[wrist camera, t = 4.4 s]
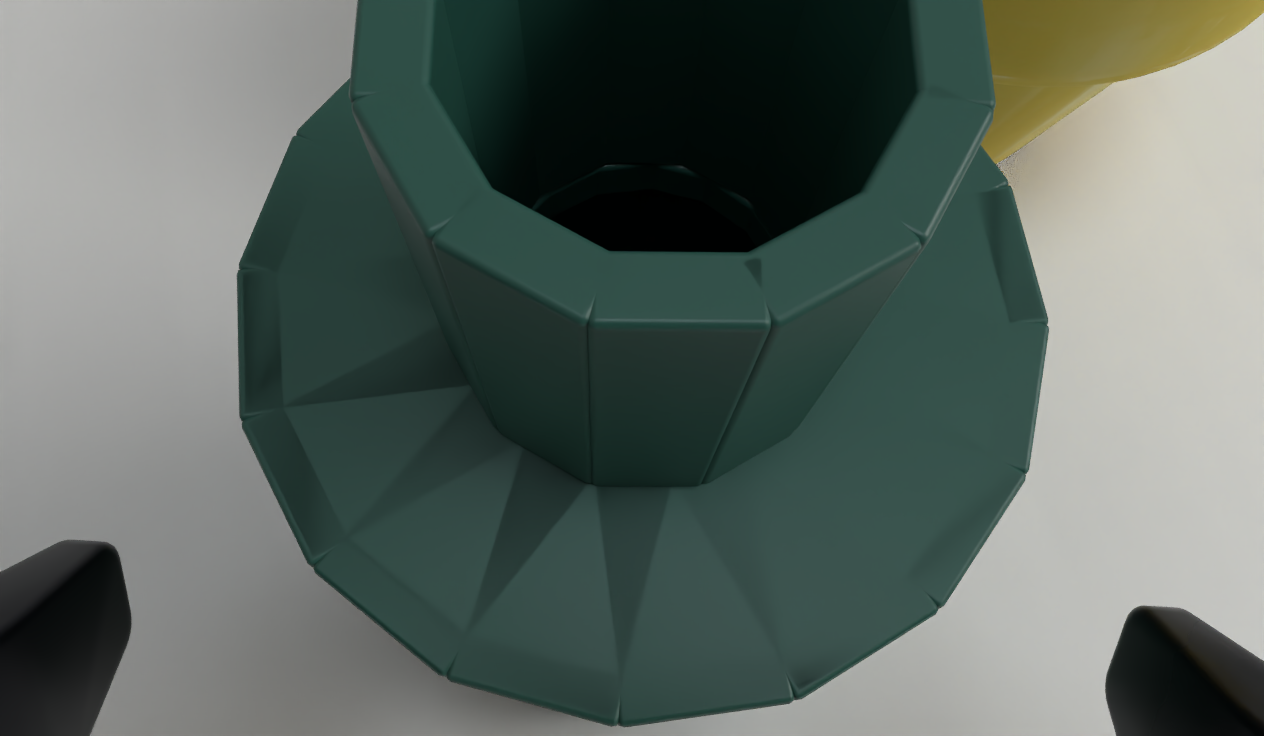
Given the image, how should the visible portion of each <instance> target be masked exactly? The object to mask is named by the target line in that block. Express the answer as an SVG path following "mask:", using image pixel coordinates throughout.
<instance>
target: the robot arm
mask: <svg viewBox="0 0 1264 736" xmlns="http://www.w3.org/2000/svg"><path fill="white" fill-rule="evenodd" d="M130 632H131V610H130V605H129V600H128V595H127V591H126V586H125V581H124V576H123V571H122V566H121V561H120V557H119V554H118V551H117V550H116V548H115V547H114V546H113V545H111V544H110V543H108V542H101V541H85V540H64V541H61V542H58V543H56V544H54V545H52V546H50V547H48V548H46V549H44V550H42V551H40V552H39V553H37V554H35V555H33V556H31V557H29V558H27V559H25V560H23V561H21V562H19V563H17V564H15V565H13V566H11V567H9V568H7V569H5V570H3V571H1V572H0V736H90V734H91V732H92V729H93V727H94V724H95V722H96V719H97V717H98V714H99V712H100V710H101V707H102V705H103V702H104V700H105V697H106V695H107V692H108V690H109V688H110V685H111V683H112V680H113V678H114V675H115V673H116V670H117V668H118V666H119V663H120V661H121V658H122V656H123V653H124V651H125V648H126V646H127V643H128V640H129V636H130ZM1105 692H1106V700H1107V704H1108V708H1109V711H1110V715H1111V718H1112V722H1113V725H1114V729H1115V732H1116V736H1264V661H1263V660H1261V659H1260V658H1258V657H1257V656H1255V655H1254V654H1252V653H1250V652H1249V651H1247V650H1246V649H1244V648H1243V647H1241V646H1240V645H1238V644H1237V643H1235V642H1234V641H1232V640H1231V639H1229V638H1228V637H1226V636H1225V635H1223V634H1222V633H1220V632H1219V631H1217V630H1216V629H1214V628H1213V627H1211V626H1210V625H1208V624H1207V623H1205V622H1204V621H1202V620H1200V619H1199V618H1197V617H1196V616H1194V615H1193V614H1191V613H1190V612H1188V611H1186V610H1184V609H1181V608H1174V607H1158V606H1139V607H1136V608H1134V609H1133V610H1132V611H1131V612H1130V613H1129V615H1128V617H1127V619H1126V621H1125V624H1124V627H1123V630H1122V632H1121V635H1120V638H1119V641H1118V644H1117V646H1116V649H1115V652H1114V655H1113V658H1112V660H1111V663H1110V666H1109V669H1108V672H1107V676H1106V683H1105Z"/></svg>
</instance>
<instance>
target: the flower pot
mask: <svg viewBox="0 0 1264 736" xmlns="http://www.w3.org/2000/svg"><path fill="white" fill-rule="evenodd" d="M982 1H983V9H984V16H985V24H986V32H987V39H988V47H989V54H990V62H991V69H992V77H993V85H994V92H995V100H996V106H995V109H994V114H993V122H992V124H991V126H990V128H989V130H988V131H987V133H986V135H985V137H984V139H983V141H982V143H981V146H982V147H983V149H984V150H985V151H986V152H987V154H988V155H989V156H990V158H991V159H992V160H993V162H994V163H995V164H997V163H998V162H1000V161H1002V160H1003V159H1005V158H1007V157H1008V156H1010V155H1011V154H1013V153H1014V152H1016V151H1017V150H1019V149H1020V148H1022V147H1023V146H1024V145H1026V144H1027V143H1029V142H1030V141H1031V140H1033V139H1034V138H1036V137H1037V136H1039V135H1040V134H1041V133H1043V132H1044V131H1046V130H1047V129H1048V128H1050V127H1051V126H1053V125H1054V124H1055V123H1057V122H1058V121H1060V120H1061V119H1062V118H1064V117H1065V116H1067V115H1068V114H1069V113H1071V112H1072V111H1074V110H1075V109H1076V108H1078V107H1079V106H1081V105H1082V104H1084V103H1085V102H1086V101H1088V100H1089V99H1091V98H1092V97H1094V96H1095V95H1096V94H1098V93H1099V92H1101V91H1102V90H1104V89H1105V88H1106V87H1108V86H1109V85H1111V84H1112V83H1113V82H1117V81H1122V80H1127V79H1131V78H1136V77H1140V76H1143V75H1146V74H1150V73H1153V72H1156V71H1159V70H1162V69H1166V68H1169V67H1172V66H1175V65H1177V64H1180V63H1182V62H1184V61H1186V60H1189V59H1191V58H1193V57H1196V56H1198V55H1200V54H1202V53H1204V52H1206V51H1208V50H1210V49H1212V48H1214V47H1216V46H1217V45H1219V44H1220V43H1222V42H1224V41H1225V40H1227V39H1229V38H1230V37H1232V36H1233V35H1235V34H1237V33H1238V32H1240V31H1242V30H1243V29H1244V28H1245V27H1247V26H1248V25H1249V24H1250V23H1251V22H1253V21H1254V20H1255V19H1256V18H1258V17H1259V16H1260V15H1261V14H1262V13H1264V0H982Z"/></svg>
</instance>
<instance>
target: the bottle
mask: <svg viewBox="0 0 1264 736" xmlns="http://www.w3.org/2000/svg"><path fill="white" fill-rule="evenodd" d="M995 106H996V100H995V92H994V85H993V77H992V69H991V62H990V54H989V47H988V39H987V32H986V24H985V16H984V9H983V1H982V0H358V2H357V13H356V23H355V34H354V44H353V55H352V66H351V76H350V78H349V79H348V80H347V81H346V82H345V83H344V84H343V85H342V86H341V87H340V88H339V89H338V90H337V91H336V92H335V93H334V94H333V95H332V96H331V97H330V98H329V99H328V100H327V101H326V102H325V103H324V104H323V105H322V106H321V107H320V108H319V109H318V110H317V111H316V112H315V113H314V114H313V115H312V116H311V117H310V118H309V119H308V120H307V121H306V122H305V123H304V124H303V125H302V126H301V127H300V128H299V129H298V131H297V133H296V135H297V136H294V137H293V138H292V140H291V142H290V144H289V147H288V149H287V152H286V154H285V156H284V159H283V161H282V163H281V166H280V168H279V170H278V173H277V175H276V178H275V180H274V182H273V185H272V187H271V189H270V192H269V194H268V197H267V199H266V201H265V204H264V206H263V208H262V211H261V213H260V215H259V218H258V220H257V223H256V225H255V227H254V230H253V232H252V234H251V237H250V239H249V241H248V244H247V246H246V249H245V251H244V253H243V256H242V258H241V260H240V263H239V269H240V270H238V273H237V304H238V359H239V414H240V418H241V421H243V422H242V429H243V431H244V433H245V435H246V437H247V439H248V441H249V443H250V445H251V447H252V449H253V451H254V453H255V455H256V457H257V460H258V462H259V464H260V466H261V468H262V470H263V472H264V474H265V476H266V478H267V480H268V482H269V484H270V486H271V488H272V491H273V493H274V495H275V497H276V499H277V501H278V503H279V505H280V507H281V509H282V511H283V513H284V515H285V517H286V520H287V522H288V524H289V526H290V528H291V530H292V532H293V534H294V536H295V538H296V540H297V542H298V544H299V546H300V548H301V551H302V553H303V555H304V557H305V559H306V561H307V563H308V564H309V565H310V566H312V567H314V568H313V569H314V571H315V573H316V574H317V575H318V576H319V577H321V578H322V579H323V580H324V581H325V582H327V583H328V584H329V585H330V586H331V587H333V588H334V589H335V590H336V591H338V592H339V593H340V594H341V595H342V596H344V597H345V598H346V599H347V600H348V601H350V602H351V603H352V604H353V605H354V606H356V607H357V608H358V609H359V610H360V611H362V612H363V613H364V614H365V615H367V616H368V617H369V618H370V619H371V620H373V621H374V622H375V623H376V624H377V625H379V626H380V627H381V628H382V629H383V630H385V631H386V632H387V633H388V634H389V635H391V636H392V637H393V638H394V639H396V640H397V641H398V642H399V643H400V644H402V645H403V646H404V647H405V648H406V649H408V650H409V651H410V652H411V653H412V654H414V655H415V656H416V657H417V658H418V659H420V660H421V661H422V662H423V663H425V664H426V665H427V666H428V667H429V668H431V669H432V670H433V671H434V672H435V673H437V674H438V675H439V676H443V677H447V679H448V680H449V681H451V682H454V683H457V684H461V685H465V686H468V687H472V688H475V689H479V690H482V691H486V692H490V693H493V694H497V695H500V696H504V697H508V698H511V699H515V700H518V701H522V702H525V703H529V704H533V705H536V706H540V707H543V708H547V709H551V710H554V711H558V712H561V713H565V714H568V715H572V716H576V717H579V718H583V719H586V720H590V721H593V722H597V723H601V724H604V725H608V726H617V724H618V725H619V726H622V727H631V726H638V725H645V724H652V723H659V722H665V721H672V720H679V719H686V718H693V717H700V716H707V715H714V714H721V713H728V712H735V711H742V710H749V709H756V708H763V707H770V706H777V705H784V704H789V703H791V702H792V701H793V700H799V699H802V698H804V697H806V696H807V695H809V694H810V693H812V692H813V691H815V690H817V689H818V688H820V687H821V686H823V685H824V684H826V683H828V682H829V681H831V680H832V679H834V678H836V677H837V676H839V675H840V674H842V673H843V672H845V671H847V670H848V669H850V668H851V667H853V666H854V665H856V664H858V663H859V662H861V661H862V660H864V659H866V658H867V657H869V656H870V655H872V654H873V653H875V652H877V651H878V650H880V649H881V648H883V647H884V646H886V645H888V644H889V643H891V642H892V641H894V640H896V639H897V638H899V637H900V636H902V635H903V634H905V633H907V632H908V631H910V630H911V629H913V628H914V627H916V626H918V625H919V624H921V623H922V622H924V621H925V620H927V619H929V618H930V617H932V616H933V615H935V614H936V612H937V611H938V609H939V608H941V607H943V606H944V605H945V603H946V602H947V600H948V599H949V597H950V596H951V594H952V593H953V591H954V590H955V588H956V586H957V585H958V583H959V582H960V580H961V579H962V577H963V576H964V574H965V573H966V571H967V569H968V568H969V566H970V565H971V563H972V562H973V560H974V559H975V557H976V556H977V554H978V552H979V551H980V549H981V548H982V546H983V545H984V543H985V542H986V540H987V539H988V537H989V535H990V534H991V532H992V531H993V529H994V528H995V526H996V525H997V523H998V521H999V520H1000V518H1001V517H1002V515H1003V514H1004V512H1005V511H1006V509H1007V508H1008V506H1009V504H1010V503H1011V501H1012V500H1013V498H1014V497H1015V495H1016V494H1017V492H1018V491H1019V489H1020V487H1021V486H1022V484H1023V483H1024V481H1025V477H1026V475H1025V474H1026V473H1027V472H1028V470H1029V466H1030V459H1031V452H1032V445H1033V438H1034V431H1035V424H1036V417H1037V410H1038V403H1039V396H1040V389H1041V382H1042V375H1043V368H1044V361H1045V354H1046V347H1047V340H1048V333H1049V328H1048V326H1047V324H1048V317H1047V313H1046V310H1045V306H1044V302H1043V299H1042V295H1041V292H1040V288H1039V284H1038V281H1037V277H1036V274H1035V270H1034V267H1033V263H1032V259H1031V256H1030V252H1029V249H1028V245H1027V241H1026V238H1025V234H1024V231H1023V227H1022V223H1021V220H1020V216H1019V213H1018V209H1017V205H1016V202H1015V198H1014V195H1013V191H1012V188H1011V187H1010V186H1008V180H1007V179H1006V177H1005V176H1004V175H1003V173H1002V172H1001V171H1000V169H999V168H998V167H997V166H996V164H995V163H994V162H993V160H992V159H991V158H990V156H989V155H988V154H987V152H986V151H985V150H984V149H983V147H982V146H981V143H982V141H983V139H984V137H985V135H986V133H987V131H988V130H989V128H990V126H991V124H992V122H993V114H994V109H995Z"/></svg>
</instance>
